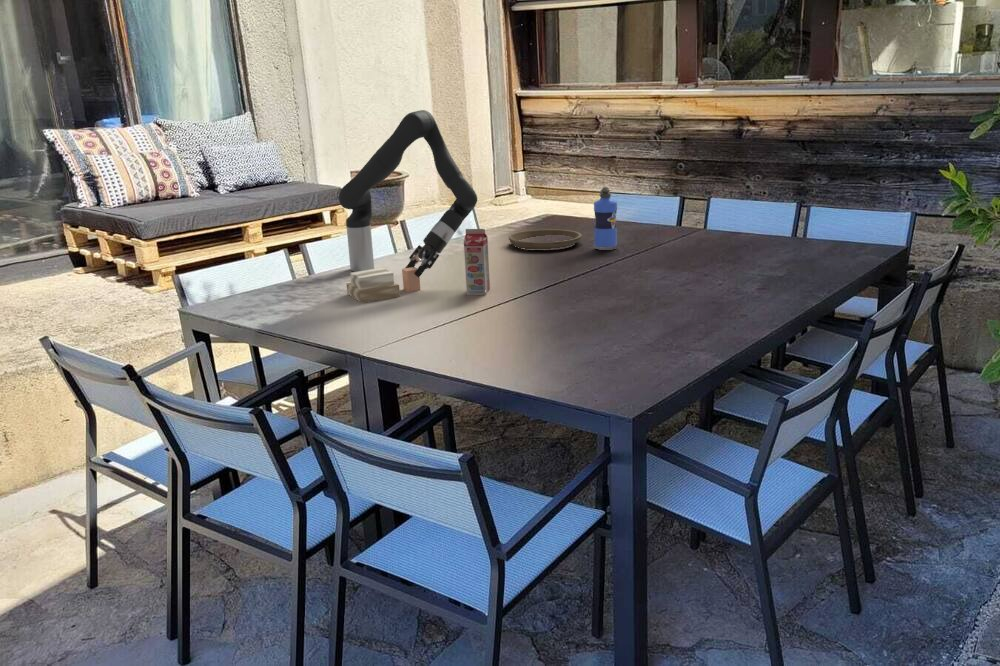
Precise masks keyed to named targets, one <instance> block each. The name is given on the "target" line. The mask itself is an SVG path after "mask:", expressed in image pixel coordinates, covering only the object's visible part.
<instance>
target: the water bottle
mask: <svg viewBox="0 0 1000 666" xmlns="http://www.w3.org/2000/svg"><path fill="white" fill-rule="evenodd" d="M611 193H612V192H611V190H610V189H609V187H606V186H605V187H602V188H601V189H600V194H599V199H598V200H596V201H594V202H593V211H594V218H595V219H594V220H595V224H594V247H595V246H597V247H612V246H616V245H617V246H618V239H617V238H618V236H617V235H618V229H617V228H618V227H617V222H616V221H617V220H616V219H617V211H618V202H617V201H616V200H614V199H611V195H612V194H611Z"/></svg>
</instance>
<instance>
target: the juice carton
mask: <svg viewBox="0 0 1000 666" xmlns="http://www.w3.org/2000/svg"><path fill="white" fill-rule="evenodd" d="M488 240H489V239H488V235H487V234H486V228H465V236H464V238H463V251H464V252H463V253H464V266H465V267H464V268H465V269H464V272H465V285H466V289H465V290H466V295H468V296H486V295H488V293H489V292H490V291H491V286H490V285H491V282H490V264H489V263H490V262H489V242H488ZM485 290H486V292H485ZM489 290H490V291H489Z"/></svg>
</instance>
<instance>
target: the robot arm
mask: <svg viewBox="0 0 1000 666" xmlns="http://www.w3.org/2000/svg"><path fill="white" fill-rule="evenodd" d="M421 138H423V139H424V140H425V141H426V143H427V144H428V146H429V148H430V150H431V152H432V153H431V154H432V157H433V162H434V165H435V169H436V171H437V173H438V175H439V177H440V178H441V180H442V181H443V183H444V185H445V187H446V188H448V189H449V190H450V191H451V192H452V194H453V195H454V198H455V200H454V201H453V203H452V204H451V206H450V207H449V208H448V209H447V210H446V211H445V212H444V213H443V215H442V216H441V218H439V220H437V222H436V223H435V224H434V225H433V227H432V228H431V229H430V231H429V232H428V233H427V234H426V235H425V237H424V238H423V240H422V241H423V244H424V245H423V246H421V245H420V244H419V245H418V246H417V247H415V249H414V251H412V253H411V254H410V256H409V258H408V259H409V262H408V264H407V265H406V266H405V268H410V267H415V266H417V264H418V263H420V265H419V266H418V268H417V270H416V271H415V273H414V274H415V275H416V276H417V277H421V276H422V275H423V273H424V272H425V271H426V270H428V269H429V270H430V269H431V268H432V267H433V265H434V264H435V262H436V261H437V260H438V259H439V257H440V254H441V253H442V252H443V251H444V250H445V248H446V246H447V245H448V244H449V243H450V241H451V240H452V238H453V236H454V234H455V233H456V232H457V230H458V229H459V228H460V227H461V225H462V223H463V221H464V220H465V219H466V218H467V217H468V216H469V215H470V213H471V212H473V209H474V208H475V207H476V206H477V203H478V196H477V193H476V191H475V190H474V188H473V187H472V185H471V184H470V183H469V182H468V180H467V179H466V178H465V177H464V175H463V173H462V172H461V170H460V168H459V166H458V165H457V163H456V162H455V160H454V159H453V157H452V155H451V153H450V150H449V149H448V147H447V145H446V142H445V140H444V138H443V136H442V133H441V131H440V129H439V126H438V124H437V122H436V120H435V117H434V116H433V115H432V113H431V112H429V111H428V110H425V109H419V110H416V111H412V112H409V113H407V114H406V115H405V116H404V117H403V118H402V119H401V121H400V122H399V124H398V125H397V127H396V128H395V130H394V131H393V133H391V135H390V137H389V138H387V139H386V140H385V142H384V143H383V144H382V145H381V146H380V147H379V148H378V149H377V150H376V151H375V153H374V154H373V155H372V156H371V157H370V158H369V160H368V161H367V162H366V163H365V164H364V165H363V167H362V168H361V169H360V170H359V172H358V173H357V174H356V175H354V177H353V178H352V179H350V181H348V182H347V183H345V184H344V185H343V186H342V188H341V189H340V191H339V195H338V201H339V204H340V206H341V207H342V208H343V209H346V210H352V211H351V213H350V215H349V216H348V217H347V218H346V220H345V224H346V227H345V228H346V233H347V234H346V236H347V244H348V245H347V246H348V256H349V257H348V258H349V267H350V268H349V269H350V272H358V271H364V270H371V269H375V262H374V261H375V260H374V249H373V238H372V228H371V227H372V226H371V220H372V216H373V215H372V214H373V213H372V212H373V211H372V210H373V208H372V194H371V190H370V189H372V188H373V187H375V186H377V185H379V184H380V183H381V182H383V181H385V180H386V179H387V178H389V176H391V175H392V173H394V171H395V170H396V169H397V168H398V167H399V166H400V164H401V162H402V159H403V157H404V156H403V155H404V153H405V152H406V150H407V148H409V147H410V146H411V145H413V143H414V142H415V141H417V140H418V139H421Z"/></svg>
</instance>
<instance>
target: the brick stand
mask: <svg viewBox="0 0 1000 666" xmlns="http://www.w3.org/2000/svg"><path fill="white" fill-rule="evenodd" d="M349 277H350V282H347V283H346V282H345V283H346V293H347V294H348V296H349V295H350V296H349V297H351V296H352V297H353V299H354V298H355V299H354V300H356V299H357V300H358V301H357V300H356V301H357V302H359V301H360V302H359V303H361V302H364V303H369V302H368V301H370V302H375V301H374V300H376V301H380V300H386V299H387V300H388V299H392V298H397V297H401V292H400V284H398V283H397V282H395V279H394V278H395V276H394V272H393V271H390V270H388V269H386V268H384V267H379V268H374V269H371V270H364V271H358V272H354V271H350V272H349ZM352 297H351V298H352Z"/></svg>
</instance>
